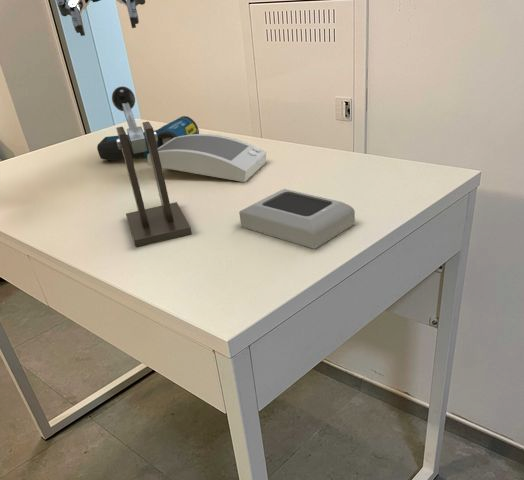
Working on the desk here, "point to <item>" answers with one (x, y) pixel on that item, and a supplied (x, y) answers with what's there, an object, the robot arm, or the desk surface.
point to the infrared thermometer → (166, 133)
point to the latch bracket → (168, 214)
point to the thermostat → (211, 156)
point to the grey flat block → (298, 217)
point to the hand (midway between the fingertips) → (107, 28)
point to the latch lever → (129, 118)
